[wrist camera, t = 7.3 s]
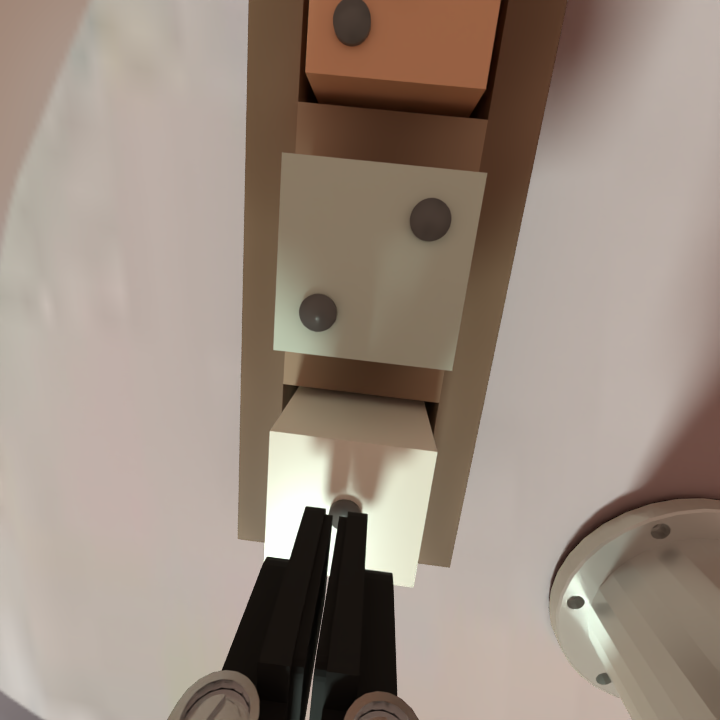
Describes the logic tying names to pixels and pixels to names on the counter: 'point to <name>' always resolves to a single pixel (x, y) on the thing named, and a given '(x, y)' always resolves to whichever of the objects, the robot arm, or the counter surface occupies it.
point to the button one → (352, 473)
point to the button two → (374, 259)
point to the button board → (398, 146)
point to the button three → (401, 53)
